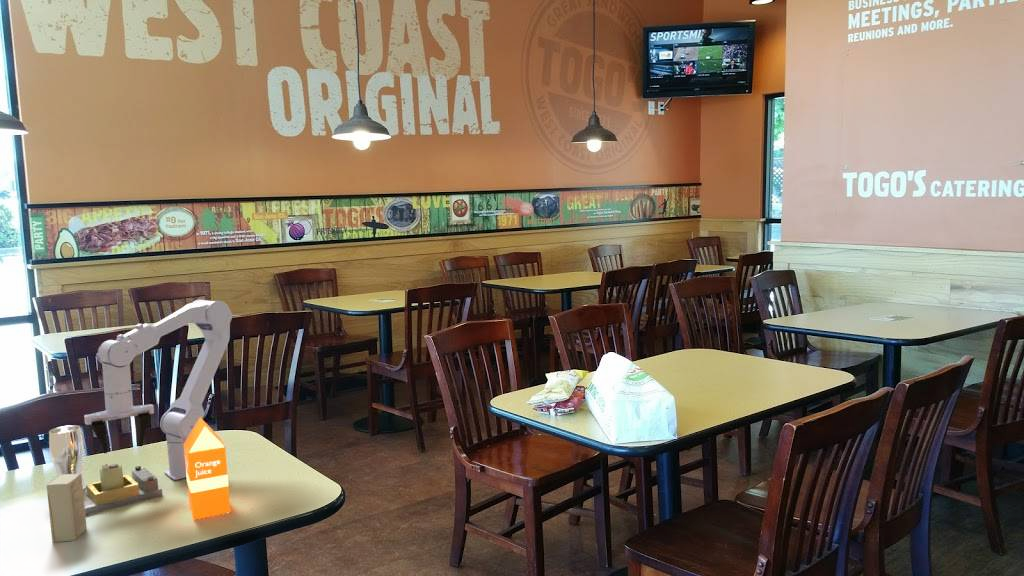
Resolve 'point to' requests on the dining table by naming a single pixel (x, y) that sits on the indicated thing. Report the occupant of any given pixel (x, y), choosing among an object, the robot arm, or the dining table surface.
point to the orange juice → (206, 472)
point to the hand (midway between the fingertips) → (122, 448)
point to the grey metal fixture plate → (122, 492)
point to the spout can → (111, 477)
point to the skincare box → (66, 507)
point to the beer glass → (67, 450)
